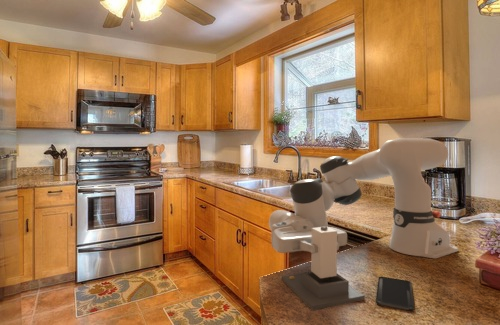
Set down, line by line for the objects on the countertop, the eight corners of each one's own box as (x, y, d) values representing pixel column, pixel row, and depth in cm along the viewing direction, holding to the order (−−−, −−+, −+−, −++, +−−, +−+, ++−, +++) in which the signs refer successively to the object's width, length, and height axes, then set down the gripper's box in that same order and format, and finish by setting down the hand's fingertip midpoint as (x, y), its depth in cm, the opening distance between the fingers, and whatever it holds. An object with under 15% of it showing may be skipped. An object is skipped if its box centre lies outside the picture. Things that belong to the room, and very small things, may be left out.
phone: (375, 301, 67) (378, 275, 81) (375, 306, 67) (378, 279, 81) (415, 309, 64) (411, 281, 77) (415, 314, 64) (411, 285, 77)
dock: (326, 272, 85) (326, 258, 85) (364, 299, 70) (364, 283, 69) (281, 279, 80) (281, 265, 80) (312, 310, 65) (312, 292, 65)
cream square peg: (326, 268, 76) (326, 224, 75) (336, 275, 71) (337, 228, 71) (311, 271, 74) (311, 225, 74) (320, 278, 70) (321, 230, 70)
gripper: (330, 240, 88) (361, 256, 75) (266, 247, 82) (288, 266, 69) (330, 219, 88) (361, 231, 75) (266, 225, 82) (288, 239, 68)
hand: (326, 248), depth 72 cm, fingers closed on cream square peg, 4 cm apart
